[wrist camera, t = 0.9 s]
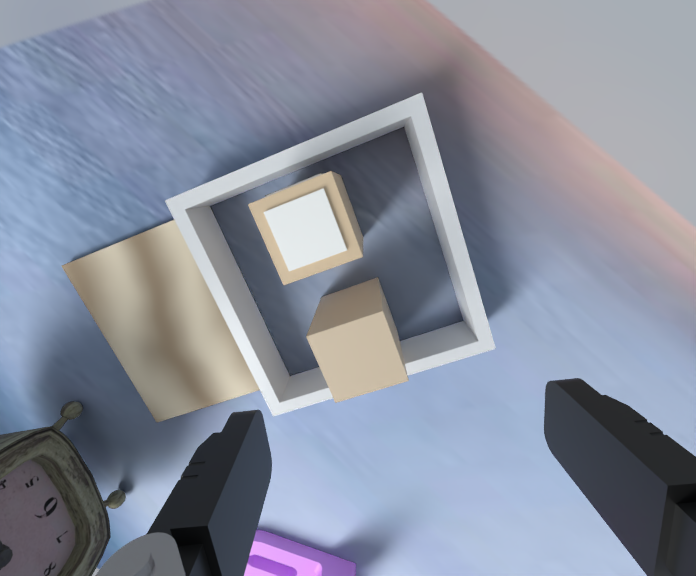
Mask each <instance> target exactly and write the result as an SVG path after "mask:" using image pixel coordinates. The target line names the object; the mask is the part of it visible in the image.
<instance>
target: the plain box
mask: <svg viewBox="0 0 696 576" xmlns="http://www.w3.org/2000/svg"><path fill="white" fill-rule="evenodd" d="M306 337H307V340H308V342H309V344H310V346H311V349H312V351H313V353H314V355H315V358H316V360H317V362H318V364H319V367H320V369H321V371H322V374H323V376H324V378H325V380H326V383H327V385H328V387H329V389H330V392H331V394H332V396H333V398H334V401H335V403H337V402H340V401H343V400H346V399H350V398H353V397H356V396H360V395H363V394H366V393H370V392H373V391H376V390H380V389H383V388H386V387H390V386H393V385H396V384H400V383H403V382H406V381H409V380H408V376H407V371H406V367H405V362H404V358H403V354H402V349H401V345H400V340H399V336H398V332H397V328H396V326H395V323H394V320H393V317H392V315H391V312H390V309H389V306H388V304H387V301H386V298H385V295H384V293H383V290H382V287H381V284H380V282H379V279H378V277H377V278H374V279H371V280H369V281H366V282H363V283H360V284H357V285H354V286H351V287H349V288H346V289H343V290H340V291H337V292H334V293H331V294H329V295H326V296H323V297H321V300H320V302H319V305H318V307H317V310H316V313H315V315H314V318H313V320H312V323H311V326H310V328H309V331H308V333H307V336H306Z"/></svg>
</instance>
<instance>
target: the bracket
mask: <svg viewBox="0 0 696 576" xmlns="http://www.w3.org/2000/svg"><path fill="white" fill-rule="evenodd" d="M258 555H259V556H258ZM260 556H262V557H260ZM263 557H265V558H263ZM266 558H267V559H266ZM269 559H270V560H269ZM272 560H273V561H272ZM275 561H276V562H275ZM277 562H279V563H277ZM280 563H282V564H280ZM283 564H285V565H283ZM286 565H287V566H286ZM289 566H290V567H289ZM244 576H356V563H353V562H350V561H347V560H345V559H342V558H339V557H336V556H333V555H331V554H328V553H325V552H322V551H320V550H317V549H314V548H311V547H308V546H306V545H303V544H300V543H297V542H294V541H292V540H289V539H286V538H283V537H280V536H278V535H275V534H272V533H269V532H266V531H263V530H256V533H255V537H254V541H253V544H252V548H251V552H250V555H249V559H248V563H247V566H246V570H245V573H244Z"/></svg>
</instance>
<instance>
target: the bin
mask: <svg viewBox="0 0 696 576" xmlns="http://www.w3.org/2000/svg"><path fill="white" fill-rule="evenodd" d="M402 127H404V128H405V131H406V135H407V138H408V141H409V144H410V148H411V151H412V154H413V158H414V161H415V164H416V167H417V171H418V174H419V177H420V180H421V184H422V187H423V190H424V193H425V197H426V200H427V203H428V206H429V210H430V213H431V216H432V219H433V223H434V226H435V229H436V232H437V236H438V239H439V242H440V245H441V249H442V252H443V255H444V258H445V262H446V265H447V268H448V271H449V275H450V278H451V281H452V284H453V288H454V291H455V294H456V298H457V301H458V304H459V307H460V311H461V314H462V317H463V320H464V321H461V322H458V323H455V324H452V325H449V326H446V327H442V328H439V329H436V330H433V331H430V332H427V333H424V334H421V335H417V336H414V337H411V338H408V339H405V340H402V341H400V345H401V349H402V354H403V358H404V362H405V367H406V371H407V376H408V375H411V374H415V373H418V372H421V371H424V370H428V369H431V368H434V367H438V366H441V365H444V364H447V363H451V362H454V361H457V360H461V359H464V358H467V357H470V356H474V355H477V354H480V353H484V352H487V351H490V350H494V349H496V348H495V344H494V341H493V338H492V334H491V331H490V327H489V324H488V320H487V317H486V313H485V310H484V306H483V303H482V299H481V296H480V292H479V289H478V285H477V282H476V278H475V275H474V271H473V268H472V264H471V261H470V257H469V254H468V251H467V247H466V244H465V240H464V237H463V233H462V230H461V226H460V223H459V219H458V216H457V212H456V209H455V205H454V202H453V198H452V195H451V191H450V188H449V184H448V181H447V177H446V174H445V171H444V167H443V164H442V160H441V157H440V153H439V150H438V146H437V143H436V139H435V136H434V132H433V129H432V125H431V122H430V118H429V115H428V111H427V108H426V104H425V101H424V97H423V94H422V93H419V94H417V95H414V96H412V97H410V98H407V99H405V100H403V101H400V102H398V103H395V104H393V105H391V106H388V107H386V108H384V109H381V110H379V111H376V112H374V113H372V114H369V115H367V116H365V117H362V118H360V119H357V120H355V121H353V122H350V123H348V124H346V125H343V126H341V127H338V128H336V129H334V130H331V131H329V132H327V133H324V134H322V135H319V136H317V137H315V138H312V139H310V140H308V141H305V142H303V143H300V144H298V145H296V146H293V147H291V148H289V149H286V150H284V151H281V152H279V153H277V154H274V155H272V156H270V157H267V158H265V159H262V160H260V161H258V162H255V163H253V164H251V165H248V166H246V167H243V168H241V169H239V170H236V171H234V172H232V173H229V174H227V175H224V176H222V177H220V178H217V179H215V180H213V181H210V182H208V183H205V184H203V185H201V186H198V187H196V188H194V189H191V190H189V191H186V192H184V193H182V194H179V195H177V196H175V197H172V198H170V199H167V200H165V202H166V204H167V206H168V208H169V210H170V212H171V214H172V216H173V218H174V220H175V222H176V224H177V226H178V228H179V230H180V232H181V234H182V236H183V238H184V240H185V242H186V244H187V246H188V248H189V250H190V252H191V254H192V256H193V258H194V260H195V262H196V264H197V266H198V268H199V270H200V272H201V274H202V276H203V278H204V280H205V282H206V284H207V286H208V287H209V289H210V291H211V293H212V295H213V297H214V299H215V301H216V303H217V305H218V307H219V309H220V311H221V313H222V315H223V317H224V319H225V321H226V323H227V325H228V327H229V329H230V331H231V333H232V335H233V337H234V339H235V341H236V343H237V345H238V347H239V349H240V351H241V353H242V355H243V357H244V359H245V361H246V363H247V365H248V367H249V369H250V371H251V373H252V375H253V377H254V379H255V381H256V383H257V385H258V387H259V389H260V391H261V393H262V395H263V397H264V399H265V401H266V403H267V405H268V407H269V409H270V411H271V413H272V415H273V416H276V415H280V414H283V413H286V412H290V411H293V410H296V409H299V408H303V407H306V406H309V405H313V404H316V403H319V402H322V401H326V400H329V399H332V398H333V396H332V394H331V392H330V389H329V387H328V385H327V383H326V380H325V378H324V376H323V374H322V371H321V369H320V367H317V368H314V369H311V370H308V371H305V372H302V373H298V374H295V375H292V376H290V375H289V373H288V371H287V369H286V367H285V365H284V363H283V360H282V358H281V356H280V354H279V352H278V350H277V348H276V346H275V343H274V341H273V339H272V337H271V335H270V333H269V331H268V329H267V326H266V324H265V322H264V320H263V318H262V316H261V314H260V312H259V309H258V307H257V305H256V303H255V301H254V299H253V297H252V295H251V292H250V290H249V288H248V286H247V284H246V282H245V280H244V278H243V275H242V273H241V271H240V269H239V267H238V265H237V263H236V261H235V258H234V256H233V254H232V252H231V250H230V248H229V246H228V244H227V241H226V239H225V237H224V235H223V233H222V231H221V229H220V227H219V224H218V222H217V220H216V218H215V216H214V214H213V212H212V210H211V207H210V206H212V205H214V204H216V203H219V202H221V201H224V200H226V199H229V198H231V197H234V196H236V195H238V194H241V193H243V192H246V191H248V190H251V189H253V188H256V187H258V186H260V185H263V184H265V183H268V182H270V181H273V180H275V179H277V178H280V177H282V176H285V175H287V174H290V173H292V172H295V171H297V170H299V169H302V168H304V167H307V166H309V165H312V164H314V163H317V162H319V161H321V160H324V159H326V158H329V157H331V156H334V155H336V154H338V153H341V152H343V151H346V150H348V149H351V148H353V147H356V146H358V145H360V144H363V143H365V142H368V141H370V140H373V139H375V138H378V137H380V136H382V135H385V134H387V133H390V132H392V131H395V130H397V129H399V128H402Z"/></svg>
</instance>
